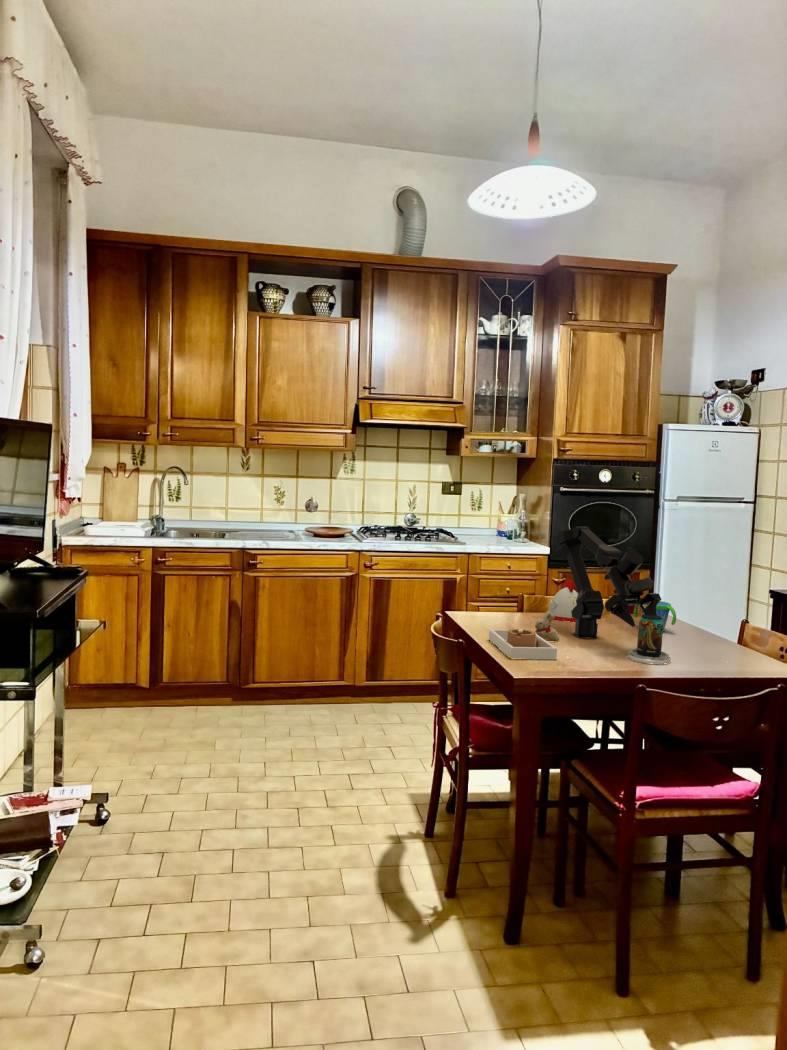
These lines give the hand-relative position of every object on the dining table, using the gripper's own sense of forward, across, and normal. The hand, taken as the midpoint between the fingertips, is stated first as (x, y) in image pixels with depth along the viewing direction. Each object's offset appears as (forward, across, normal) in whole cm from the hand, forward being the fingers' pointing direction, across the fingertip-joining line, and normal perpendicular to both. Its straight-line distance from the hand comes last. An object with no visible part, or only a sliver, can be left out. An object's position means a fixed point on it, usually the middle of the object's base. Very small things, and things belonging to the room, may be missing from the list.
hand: (645, 625), depth 235 cm
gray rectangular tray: (-6, -32, +20) cm, 38 cm away
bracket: (-5, -32, +20) cm, 38 cm away
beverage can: (+8, 0, +5) cm, 9 cm away
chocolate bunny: (-12, -16, +26) cm, 33 cm away
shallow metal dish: (+9, 0, +5) cm, 10 cm away
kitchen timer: (-32, +16, +47) cm, 59 cm away
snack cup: (-14, +35, +29) cm, 47 cm away
